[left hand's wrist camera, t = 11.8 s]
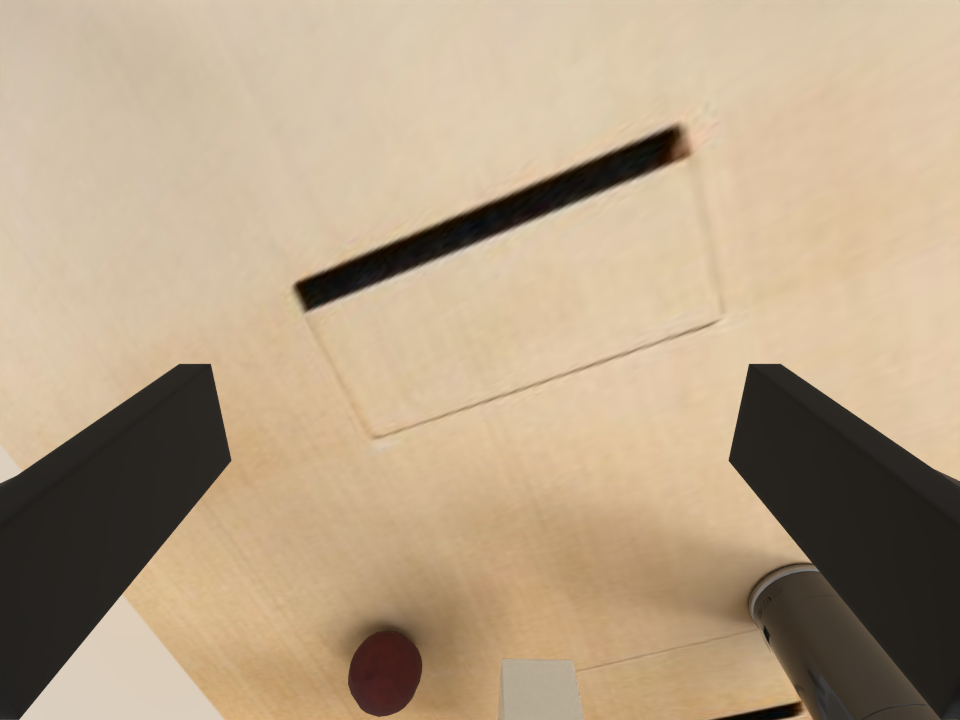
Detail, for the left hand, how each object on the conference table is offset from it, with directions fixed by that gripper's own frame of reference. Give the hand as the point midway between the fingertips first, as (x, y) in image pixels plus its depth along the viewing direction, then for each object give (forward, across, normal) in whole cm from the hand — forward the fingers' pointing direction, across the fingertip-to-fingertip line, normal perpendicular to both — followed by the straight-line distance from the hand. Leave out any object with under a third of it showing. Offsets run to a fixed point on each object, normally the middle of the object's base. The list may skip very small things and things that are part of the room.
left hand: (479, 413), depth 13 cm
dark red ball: (+29, -10, -43) cm, 53 cm away
